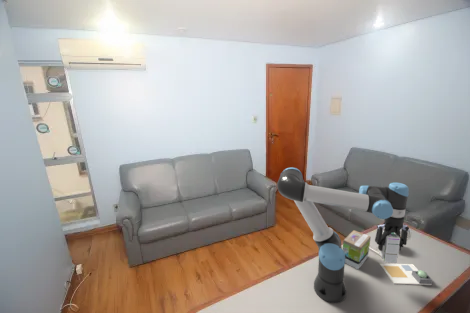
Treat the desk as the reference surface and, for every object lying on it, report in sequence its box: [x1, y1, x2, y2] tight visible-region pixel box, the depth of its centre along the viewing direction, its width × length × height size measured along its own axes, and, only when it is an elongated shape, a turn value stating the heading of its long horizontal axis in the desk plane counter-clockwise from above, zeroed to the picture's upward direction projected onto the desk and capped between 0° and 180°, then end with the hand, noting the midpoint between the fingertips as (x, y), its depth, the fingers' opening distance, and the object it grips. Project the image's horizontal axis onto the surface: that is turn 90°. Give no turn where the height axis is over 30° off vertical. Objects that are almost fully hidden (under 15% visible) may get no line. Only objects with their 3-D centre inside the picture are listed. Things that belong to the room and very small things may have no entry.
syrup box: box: [381, 230, 400, 264], centre depth 110 cm, size 6×6×14 cm
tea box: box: [342, 229, 371, 270], centre depth 130 cm, size 15×10×15 cm, turn 131°
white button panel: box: [379, 263, 433, 286], centre depth 119 cm, size 18×14×3 cm
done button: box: [417, 269, 428, 278], centre depth 114 cm, size 4×4×3 cm
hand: (388, 255), depth 111 cm, fingers closed on syrup box, 6 cm apart
